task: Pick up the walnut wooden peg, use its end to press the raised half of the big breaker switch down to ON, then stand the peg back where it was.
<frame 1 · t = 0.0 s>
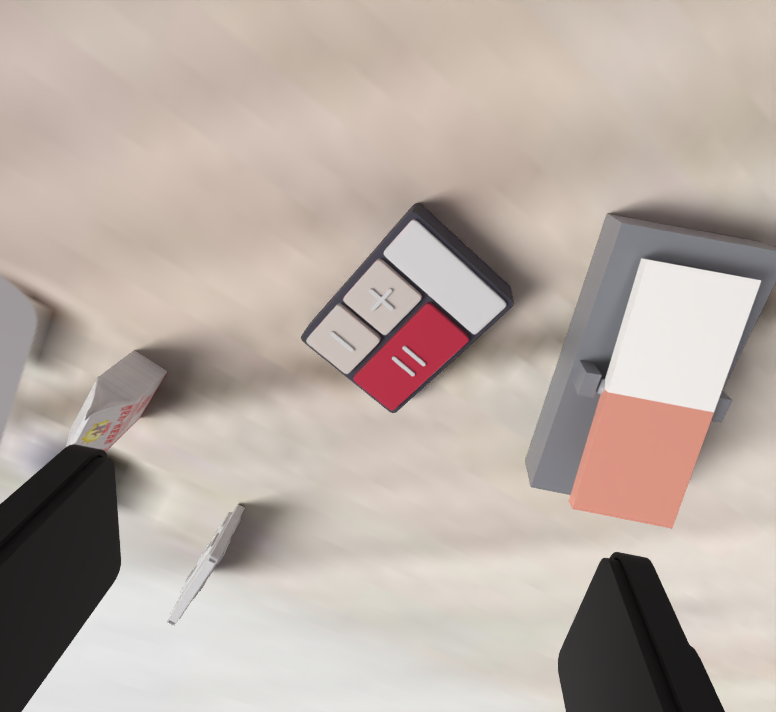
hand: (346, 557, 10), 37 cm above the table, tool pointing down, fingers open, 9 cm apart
calculator: (406, 307, 47), on the table
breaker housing: (629, 363, 47), on the table
white cardboard box: (138, 384, 53), on the table
cassette: (221, 536, 61), on the table
breaker rocker: (655, 397, 41), point 6 cm above the table, hinge at -10.0°
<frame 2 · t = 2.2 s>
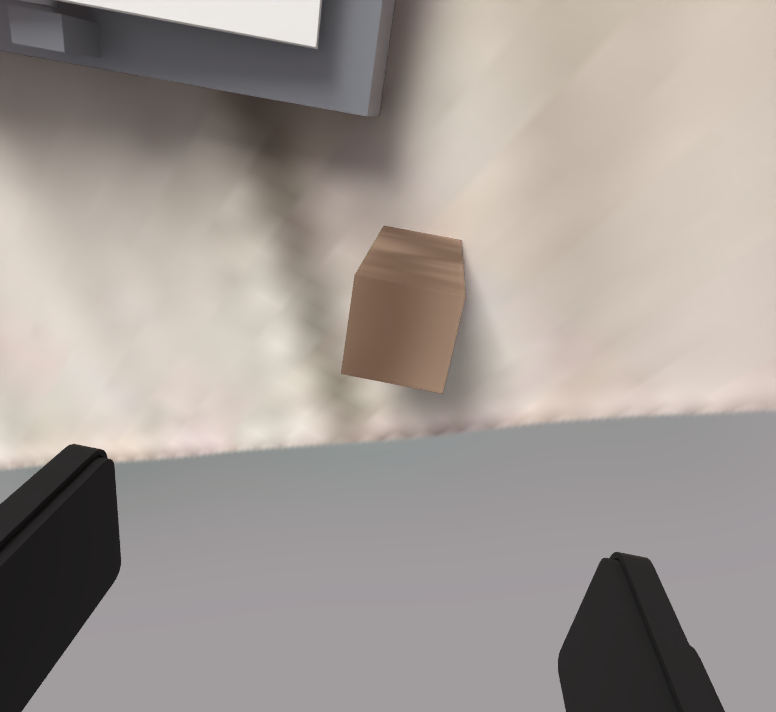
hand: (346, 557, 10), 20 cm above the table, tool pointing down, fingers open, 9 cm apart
peg: (415, 270, 28), on the table
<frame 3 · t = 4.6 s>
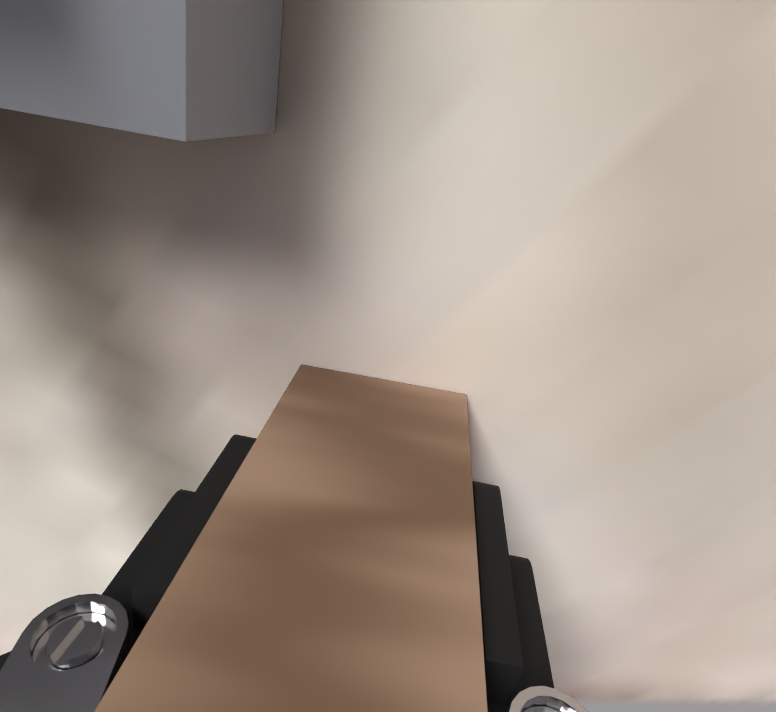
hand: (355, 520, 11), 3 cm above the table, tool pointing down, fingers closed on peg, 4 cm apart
peg: (371, 448, 14), on the table, touching gripper
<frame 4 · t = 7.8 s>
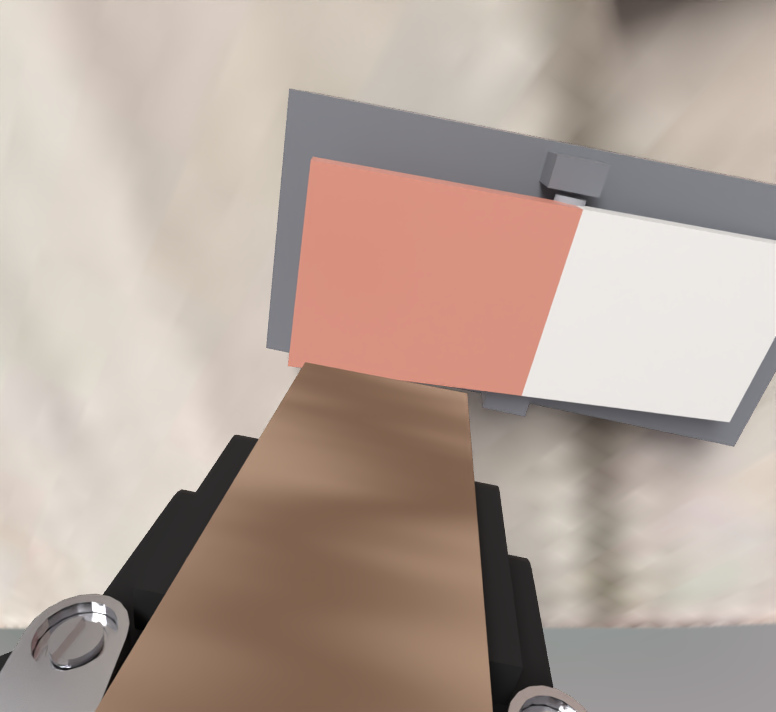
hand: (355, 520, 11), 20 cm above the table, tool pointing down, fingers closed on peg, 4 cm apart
peg: (373, 446, 14), point 17 cm above the table, touching gripper
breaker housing: (521, 262, 28), on the table
breaker rocker: (541, 301, 22), point 6 cm above the table, hinge at -10.0°
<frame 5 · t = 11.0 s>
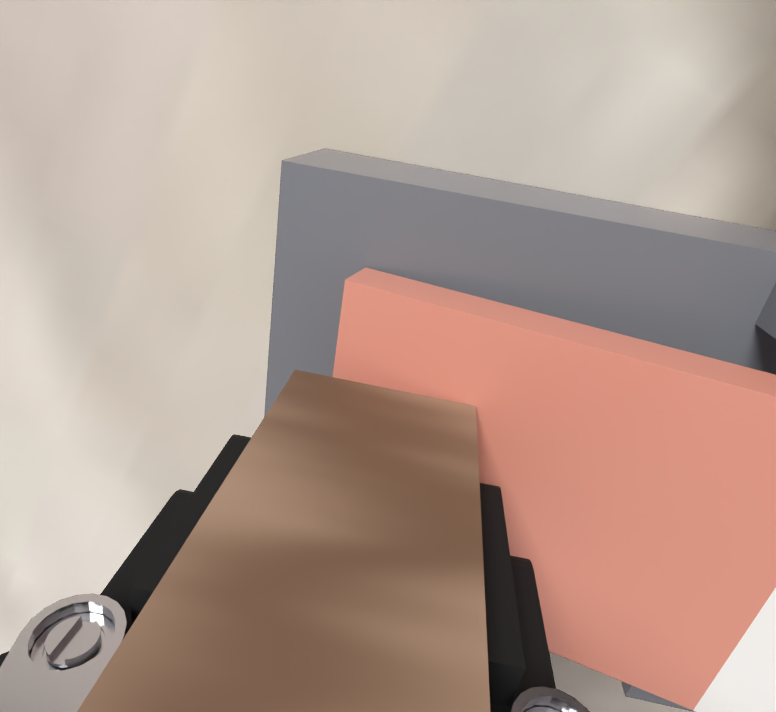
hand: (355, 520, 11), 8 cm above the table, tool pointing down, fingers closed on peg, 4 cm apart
peg: (371, 461, 12), point 6 cm above the table, touching breaker rocker, gripper
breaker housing: (664, 409, 17), on the table
breaker rocker: (759, 556, 12), point 6 cm above the table, hinge at 12.3°, touching peg
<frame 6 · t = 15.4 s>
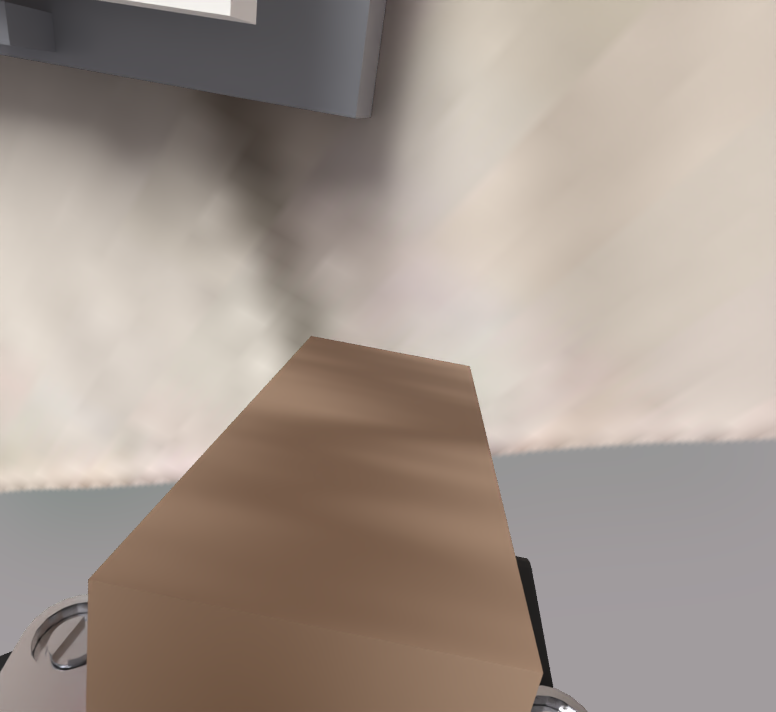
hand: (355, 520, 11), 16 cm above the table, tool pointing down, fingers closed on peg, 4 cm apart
peg: (376, 424, 14), point 13 cm above the table, tilted 9°, touching gripper
when the fingers open (3 cm above the table, at t = 18.7 s): peg stays where it is, on the table.
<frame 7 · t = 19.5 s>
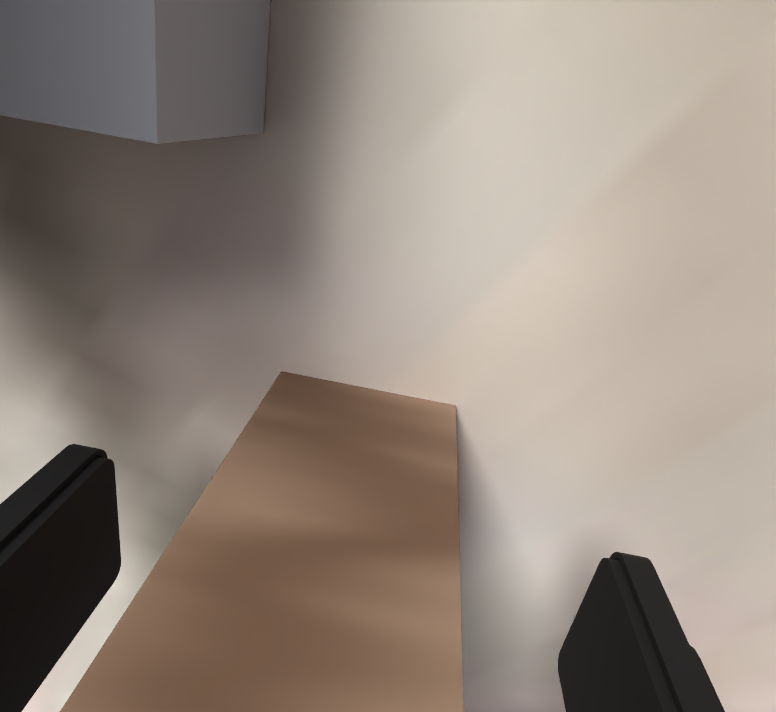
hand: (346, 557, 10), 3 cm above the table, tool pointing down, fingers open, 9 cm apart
peg: (356, 460, 13), on the table
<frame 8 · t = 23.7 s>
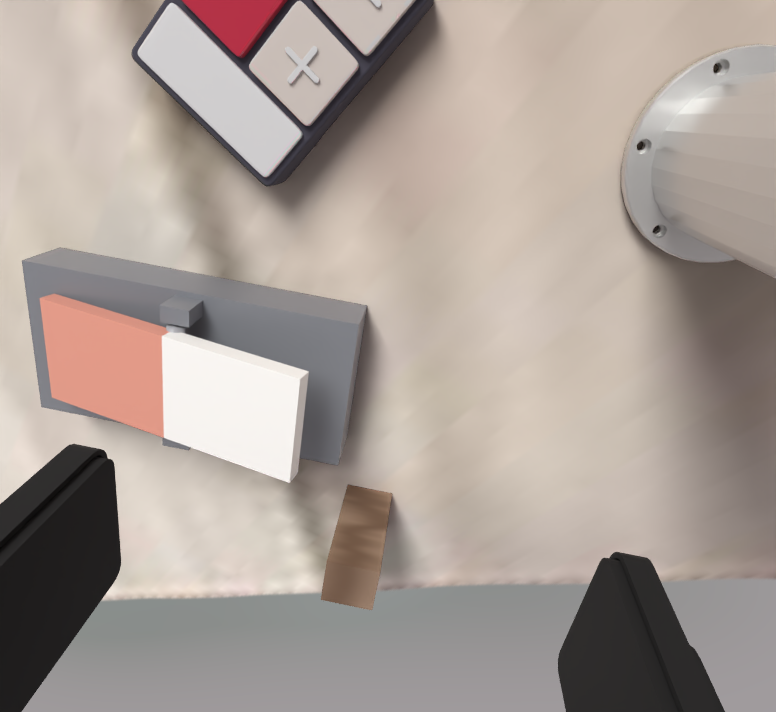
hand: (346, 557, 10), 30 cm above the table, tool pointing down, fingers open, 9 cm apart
calculator: (292, 32, 34), on the table
peg: (366, 506, 48), on the table
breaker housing: (210, 347, 43), on the table
breaker rocker: (172, 383, 37), point 6 cm above the table, hinge at 12.3°
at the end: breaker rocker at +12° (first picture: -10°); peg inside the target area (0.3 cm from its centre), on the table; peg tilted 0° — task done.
